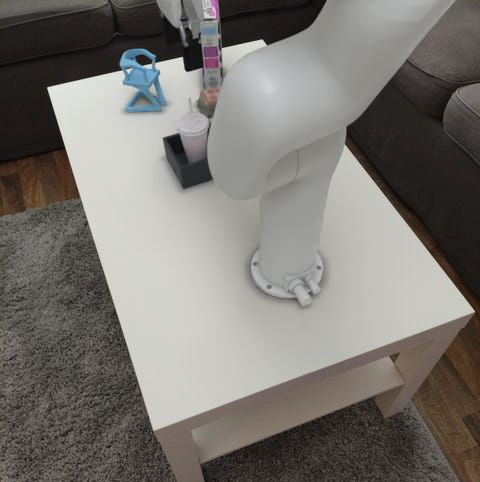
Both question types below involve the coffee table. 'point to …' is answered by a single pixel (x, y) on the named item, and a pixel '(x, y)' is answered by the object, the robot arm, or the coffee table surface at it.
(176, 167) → the box
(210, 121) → the packaged product
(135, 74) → the chair
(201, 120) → the smoothie
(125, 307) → the coffee table surface
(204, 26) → the candy bar box
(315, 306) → the coffee table surface
